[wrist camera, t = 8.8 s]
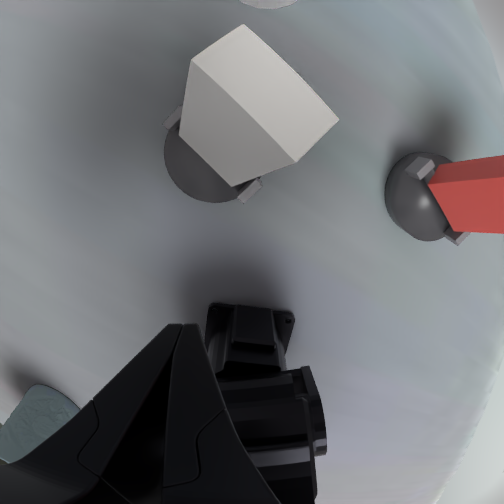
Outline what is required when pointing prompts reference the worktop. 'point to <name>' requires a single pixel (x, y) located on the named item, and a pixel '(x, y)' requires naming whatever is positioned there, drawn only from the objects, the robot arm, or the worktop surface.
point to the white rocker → (249, 109)
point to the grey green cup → (34, 422)
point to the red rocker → (471, 194)
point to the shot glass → (268, 3)
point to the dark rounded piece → (418, 199)
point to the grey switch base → (199, 170)
